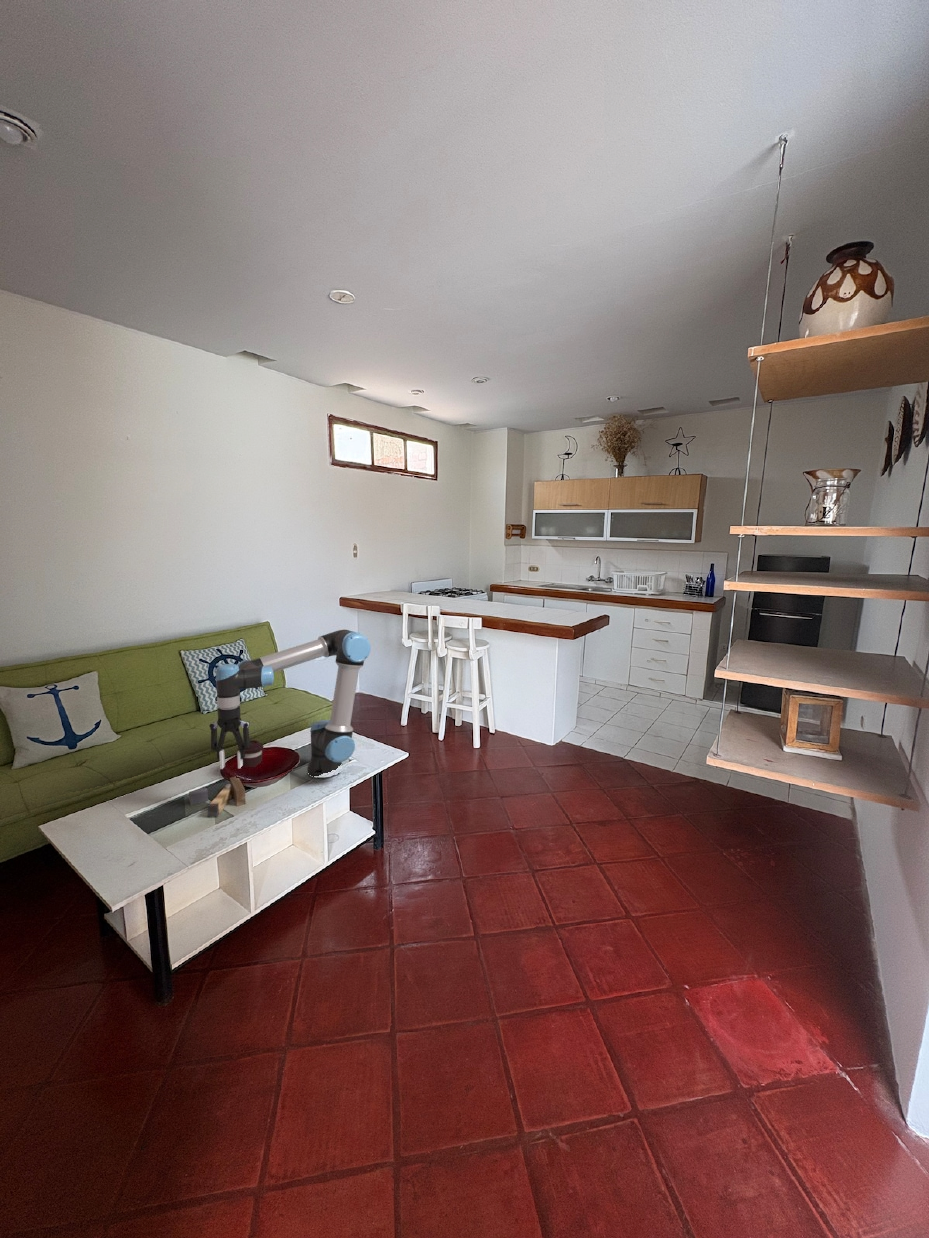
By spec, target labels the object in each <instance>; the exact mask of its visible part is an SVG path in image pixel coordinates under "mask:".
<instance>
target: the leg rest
mask: <svg viewBox="0 0 929 1238" xmlns="http://www.w3.org/2000/svg"><path fill="white" fill-rule="evenodd" d="M208 793H209V791H208V788H207V787H204V788H200V789H195V790H192V791H189V792H188V794H189V795H188V796H189V804H190V805H191V806H192V805H196V804H197V805H198V804H202V803H204V802H209V794H208Z"/></svg>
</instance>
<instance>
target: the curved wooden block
mask: <svg viewBox="0 0 929 1238" xmlns="http://www.w3.org/2000/svg"><path fill="white" fill-rule="evenodd" d="M236 776H237V777H239V776H238V775H236ZM236 776H232V777H229V784H231V788H232V799H233V800H234V802H235V803H234V804H235V805H236V806H237V807H239V806H243V805H246V789H245V787H244V785H243V783H242V781H241V779H240V778H236Z"/></svg>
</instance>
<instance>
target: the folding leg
mask: <svg viewBox="0 0 929 1238" xmlns="http://www.w3.org/2000/svg"><path fill="white" fill-rule="evenodd" d="M232 799H233V796H232V788H231V784H230V783H227V784H225V786H224V787H223V789H222V790H221V791H220V792H219V793H218V794H217V795H216V797H214V798H213V800H211V802H210V803H209V804H208V805H207V808H206V809H207V817H208V818H217V817H219V815H220V813H221V812H222V810H224V808H225V807H226V806H227V805H228V804H229V803H230V801H231V800H232Z"/></svg>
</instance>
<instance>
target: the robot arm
mask: <svg viewBox="0 0 929 1238" xmlns="http://www.w3.org/2000/svg"><path fill="white" fill-rule="evenodd" d="M370 653H371V643H370V641H369V640H368V638H367V637H366V636H365V635H364V634H362V633H360V632H356V631H352V630H349V629H338V630H335V631H333V632H329V633H327V634H323V635H320V636H318V638H317V639H315V640H312V641H309V642H306V643H303V644H299V645H296V646H293V647H290V648H287V649H286V648H285V649H282V650H280V651H276V652H275V653H274V652H273V653H270V654H267V655H264V656H261V657H258V658H255V659H252V660H250V659H244V660H241V661H240V662H239V663H237V664H235V663H225V664H220V665H218V666H217V667H216V668H215V683H216V706H217V721H215V722H214V721H213V722H212V723H210V724H209V728H210V734H211V735H210V749H211V751H215V752H216V759H217V761H219V769H220V770H223V769H224V768H225V767H226V754H225V749H224V748H223V746H224V743H225V739H226V735H227V733H232V735H233V737H234V739H235V742H236V744H237V747H238V748H239V751H237V752H236V753H237V769H242V768H241V767H242V766H243V759H244V758H245V750H246V749H248V748H249V747H250V732H249V726H250V721H243V719H242V718H241V706H240V705H241V697H240V695H241V694H240V691H241V690H246V689H247V690H248V689H253V688H254V689H255V688H256V689H257V688H264V687H268V686H272V685H273V684H274V680H275V676H274V673H276V672H279V671H282V670H286V669H288V668H292V667H294V666H295V667H296V666H297V665H301V664H304V663H307V662H310V661H313V660H315V659H319V658H322V657H324V658H329V657H333V656H334V657H335V662H334V663H335V664H336V665H337V673H336V681H335V684H334V685H335V686H334V693H333V699H332V704H331V712H330V717H329V719H322V720H317V721H315V722H312V723H311V725H310V729H309V730H310V731H309V732H310V751H311V752H310V754H311V755H310V760H309V762H308V765H307V769H306V770H307V774H308V773H309V775H311V776H313V777H314V776H319V775H321V774H323V773H328V772H331V771H332V770H336V769H337V768H338V766H340V765H341V764H342V765H343V762H345V761H347V760H348V759H349V758H350V757H352V755H353V754H354V752H355V749H356V743H355V740H354V739H353V733H354V727H353V726H352V725H351V721H352V717H353V709H354V703H355V698H356V697H355V696H356V690H357V684H358V678H359V672H360V669H361V668H363V667H364V663H365V660H366V659H367V658H369V656H370ZM240 726H241V728H242V735H241V732H240ZM218 727H219V728H220V734H219V737H218ZM218 738H219V739H218ZM309 775H308V776H309ZM313 777H312V778H313Z"/></svg>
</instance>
